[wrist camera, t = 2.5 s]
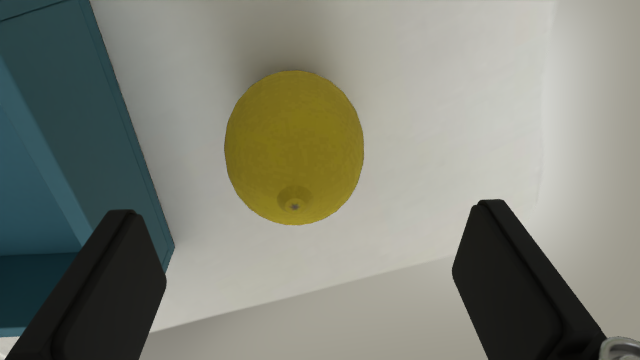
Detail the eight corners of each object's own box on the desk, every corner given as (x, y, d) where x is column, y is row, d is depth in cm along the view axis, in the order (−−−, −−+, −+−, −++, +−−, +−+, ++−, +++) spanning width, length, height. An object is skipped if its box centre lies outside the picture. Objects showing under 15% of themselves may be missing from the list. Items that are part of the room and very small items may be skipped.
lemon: (346, 40, 16) (382, 118, 9) (352, 145, 19) (381, 257, 13) (226, 54, 16) (178, 142, 9) (252, 157, 19) (230, 274, 13)
